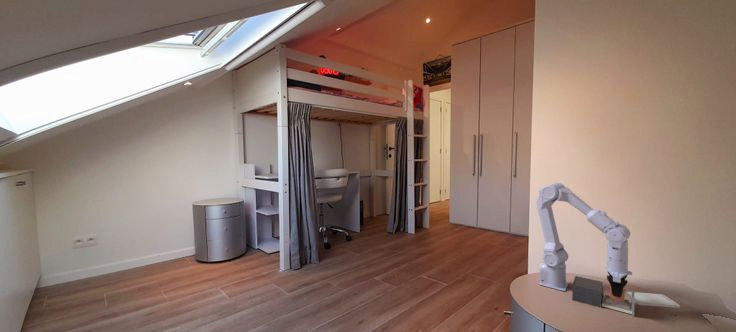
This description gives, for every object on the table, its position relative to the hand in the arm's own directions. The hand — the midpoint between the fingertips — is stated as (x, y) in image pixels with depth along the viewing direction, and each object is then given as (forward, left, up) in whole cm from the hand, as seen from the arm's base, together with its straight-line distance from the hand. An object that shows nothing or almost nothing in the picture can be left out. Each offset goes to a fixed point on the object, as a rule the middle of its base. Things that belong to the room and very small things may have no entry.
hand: (616, 293), depth 105 cm
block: (0, 0, -2) cm, 2 cm away
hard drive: (+10, +13, -6) cm, 17 cm away
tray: (-1, 0, -5) cm, 5 cm away
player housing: (-9, 0, -5) cm, 10 cm away
